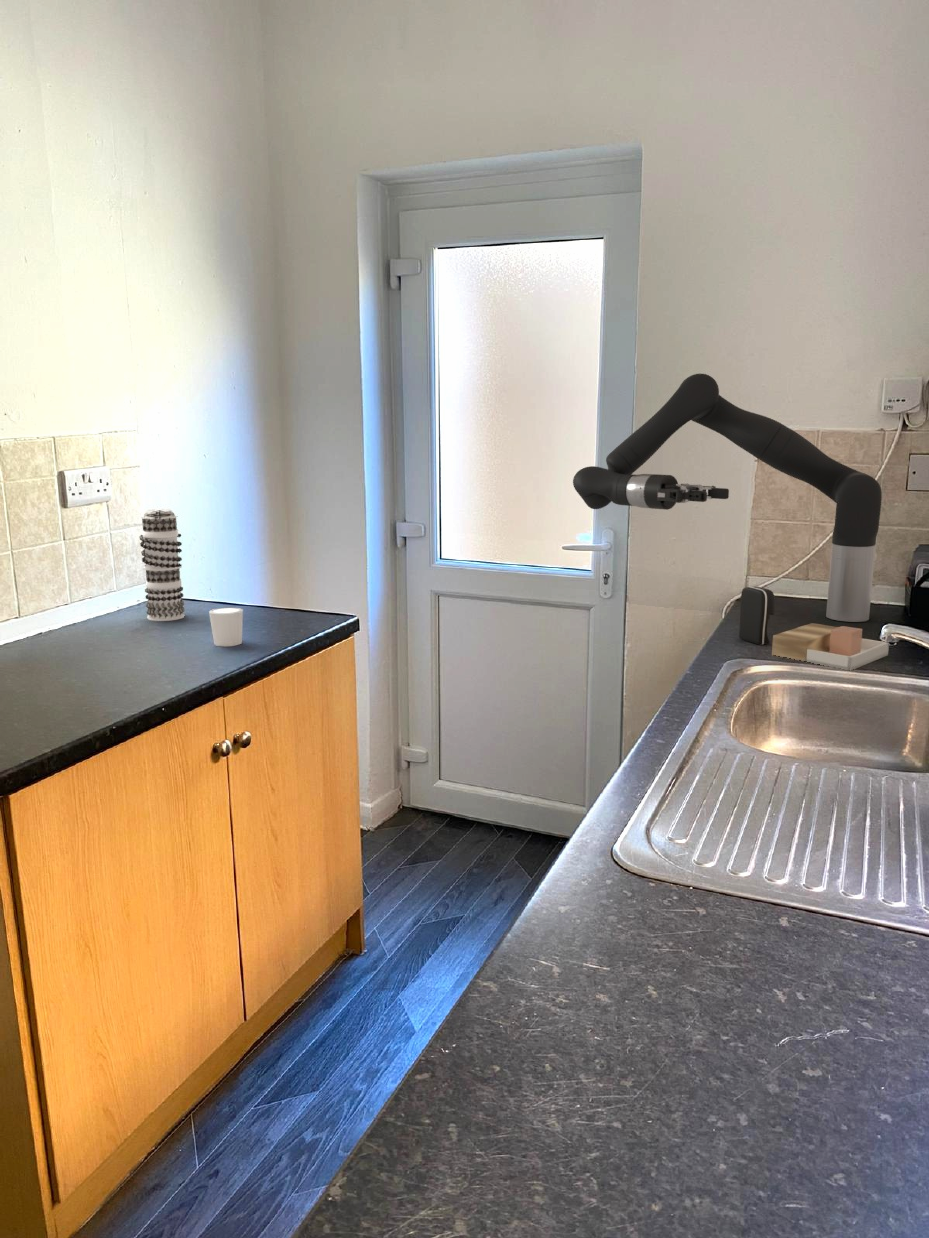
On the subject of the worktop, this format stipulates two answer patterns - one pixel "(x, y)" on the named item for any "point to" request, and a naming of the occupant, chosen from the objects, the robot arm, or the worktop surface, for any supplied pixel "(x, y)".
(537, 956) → the worktop surface
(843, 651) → the peach rounded cube
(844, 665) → the tray
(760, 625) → the black rounded block
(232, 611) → the shot glass
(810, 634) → the wooden block
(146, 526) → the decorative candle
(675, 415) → the robot arm
